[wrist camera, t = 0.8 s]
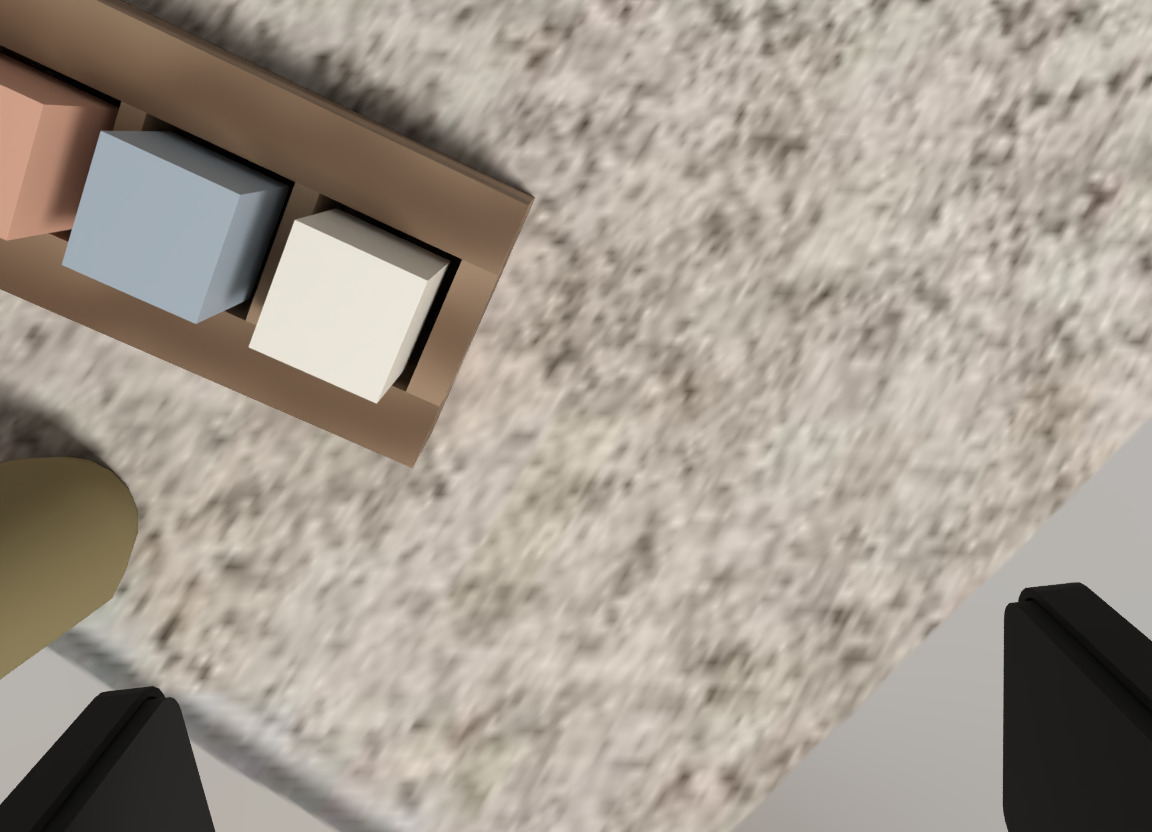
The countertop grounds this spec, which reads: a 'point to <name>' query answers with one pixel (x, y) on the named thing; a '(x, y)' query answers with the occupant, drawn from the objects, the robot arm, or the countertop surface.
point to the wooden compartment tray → (322, 182)
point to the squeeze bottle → (58, 548)
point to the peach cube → (44, 149)
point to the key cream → (348, 302)
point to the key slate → (173, 223)
